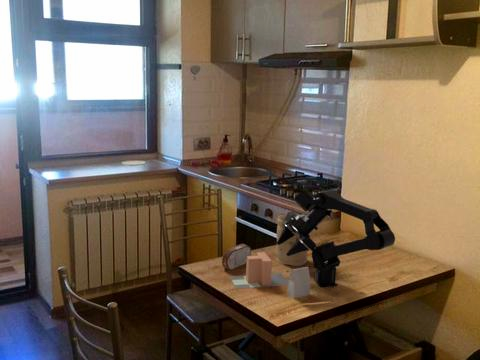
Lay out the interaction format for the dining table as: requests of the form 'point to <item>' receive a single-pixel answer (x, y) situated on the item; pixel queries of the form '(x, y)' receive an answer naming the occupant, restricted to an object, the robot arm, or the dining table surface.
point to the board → (242, 283)
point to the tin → (236, 256)
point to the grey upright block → (299, 282)
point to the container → (288, 248)
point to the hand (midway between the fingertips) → (282, 249)
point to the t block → (259, 269)
